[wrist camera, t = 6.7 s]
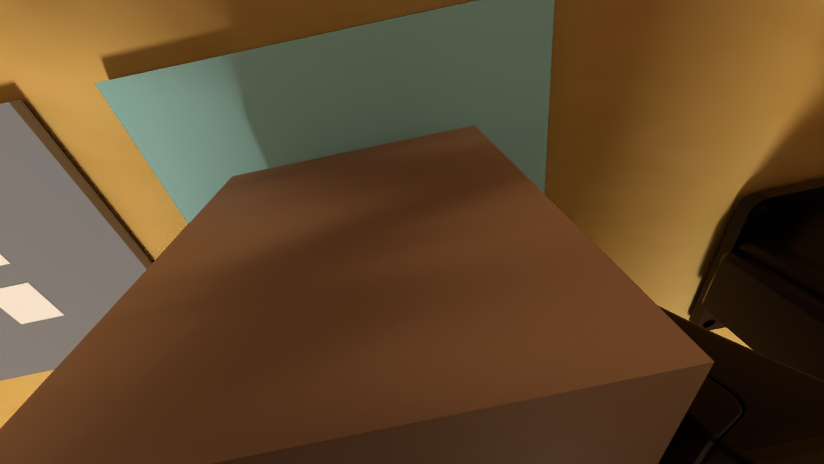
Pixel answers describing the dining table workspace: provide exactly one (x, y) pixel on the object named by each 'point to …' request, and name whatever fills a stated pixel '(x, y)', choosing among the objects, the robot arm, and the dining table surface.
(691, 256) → the dining table surface
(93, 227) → the code tile
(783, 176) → the dining table surface
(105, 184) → the dining table surface
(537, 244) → the walnut block
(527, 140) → the teal mat
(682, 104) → the dining table surface
